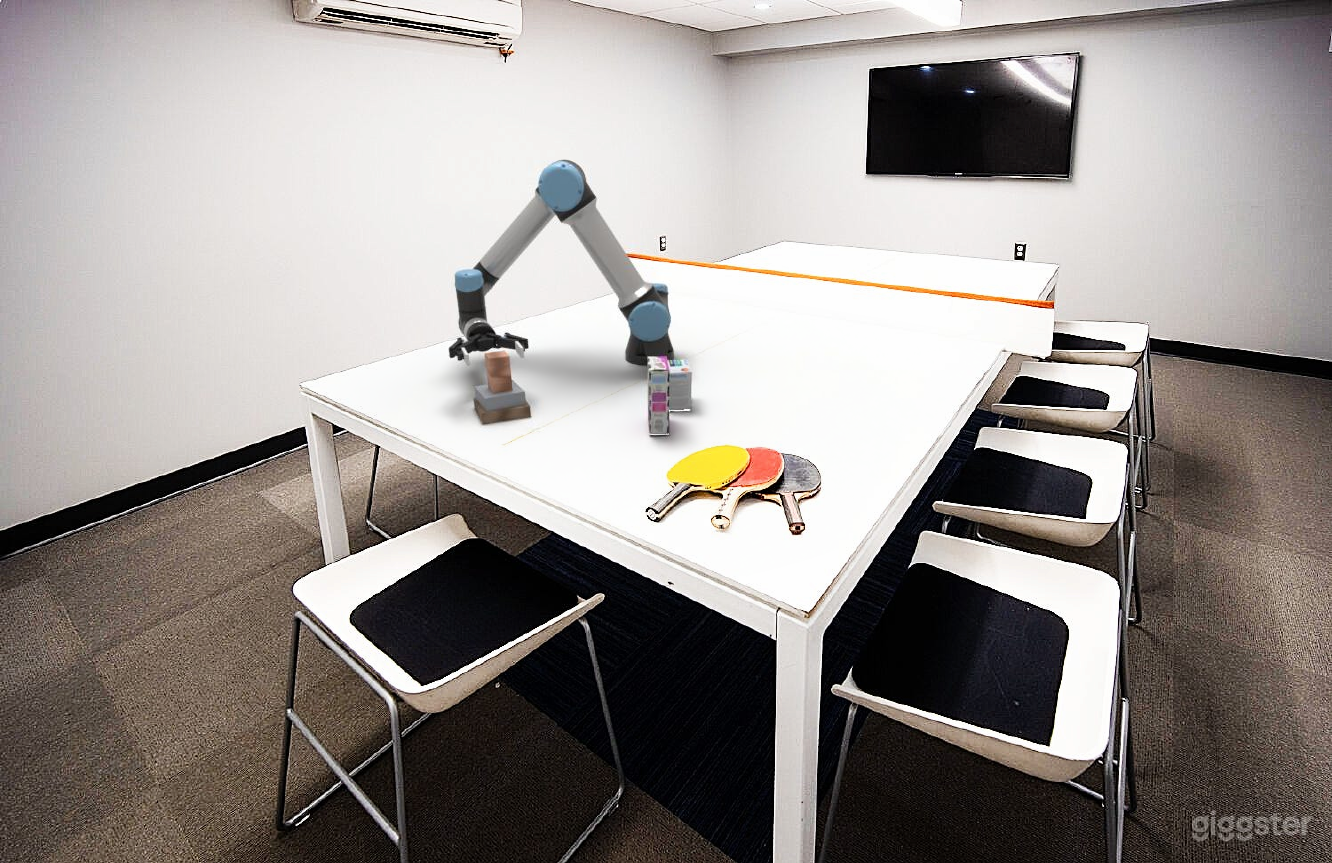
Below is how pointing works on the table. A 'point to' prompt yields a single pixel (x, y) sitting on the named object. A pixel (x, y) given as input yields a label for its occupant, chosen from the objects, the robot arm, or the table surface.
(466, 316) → the robot arm
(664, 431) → the candy bar box
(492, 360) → the terracotta block
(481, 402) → the slate slab
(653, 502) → the table surface
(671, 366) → the light bulb box
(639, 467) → the table surface
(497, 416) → the walnut slab
